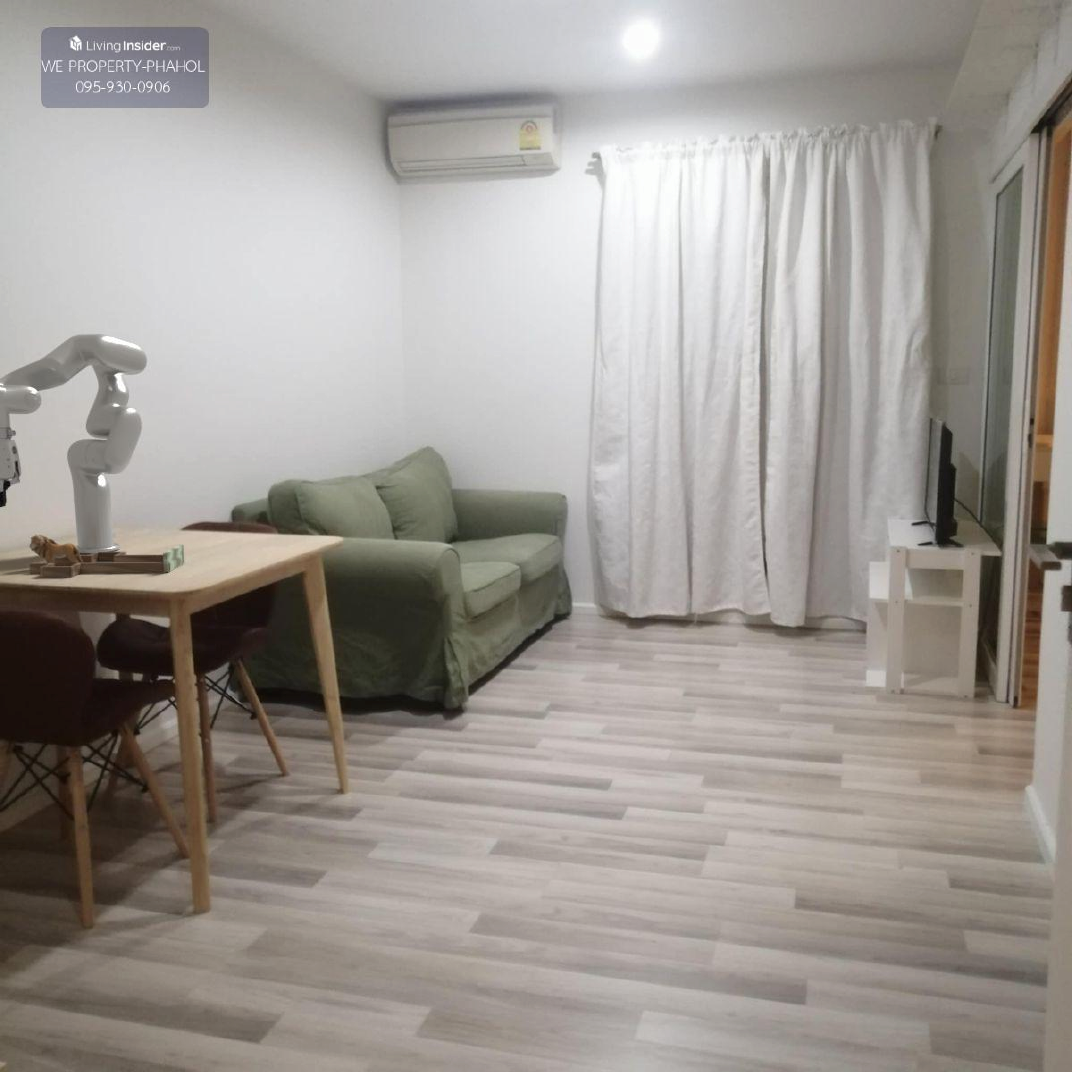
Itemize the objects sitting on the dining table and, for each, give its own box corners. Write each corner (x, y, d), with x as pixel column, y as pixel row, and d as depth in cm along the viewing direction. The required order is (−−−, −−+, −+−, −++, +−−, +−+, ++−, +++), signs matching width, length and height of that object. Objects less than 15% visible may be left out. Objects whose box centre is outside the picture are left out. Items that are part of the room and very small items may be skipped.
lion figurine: (27, 571, 266) (25, 536, 265) (37, 567, 271) (34, 533, 270) (85, 570, 266) (82, 536, 265) (93, 566, 272) (91, 532, 270)
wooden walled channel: (59, 561, 279) (58, 542, 279) (189, 560, 280) (188, 542, 279) (20, 577, 258) (19, 557, 257) (162, 576, 258) (160, 556, 257)
